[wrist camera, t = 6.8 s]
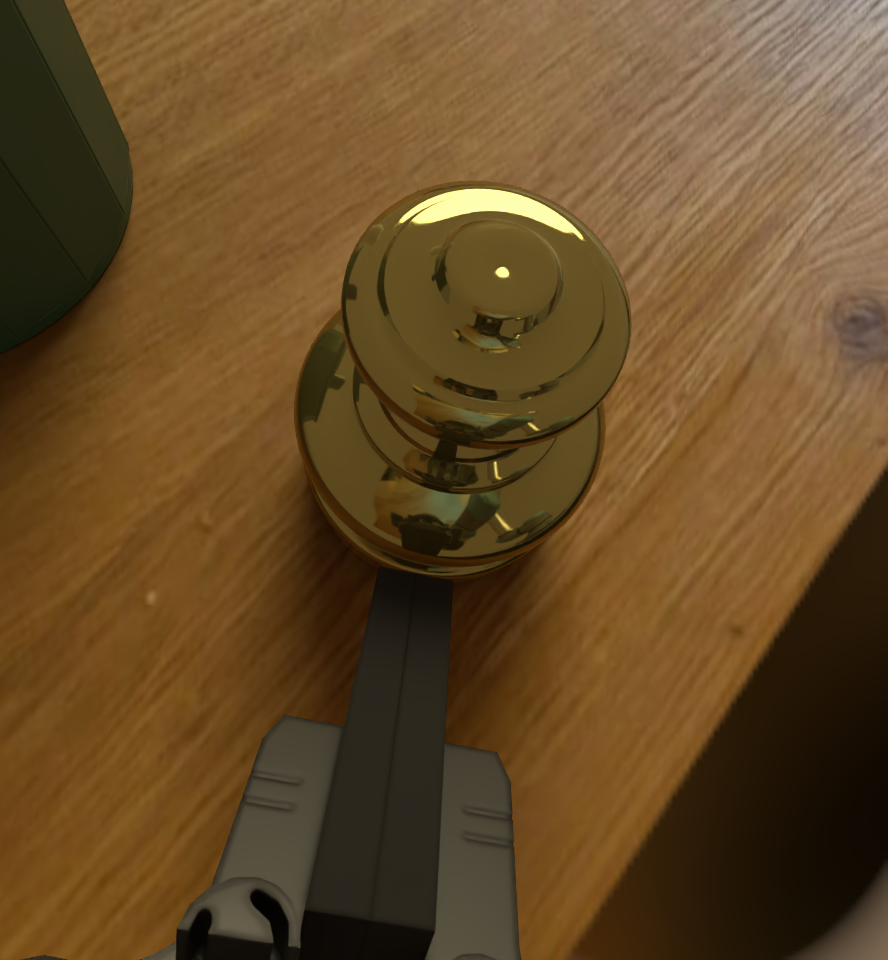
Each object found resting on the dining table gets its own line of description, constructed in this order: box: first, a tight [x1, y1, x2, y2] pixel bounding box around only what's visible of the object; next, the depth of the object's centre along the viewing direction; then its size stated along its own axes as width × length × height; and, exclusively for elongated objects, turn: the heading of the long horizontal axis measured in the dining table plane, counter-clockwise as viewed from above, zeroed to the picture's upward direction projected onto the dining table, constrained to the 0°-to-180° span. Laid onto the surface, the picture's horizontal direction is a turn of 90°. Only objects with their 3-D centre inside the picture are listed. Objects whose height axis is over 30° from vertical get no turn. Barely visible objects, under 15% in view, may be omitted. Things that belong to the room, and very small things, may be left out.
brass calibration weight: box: [294, 181, 631, 583], centre depth 15 cm, size 7×7×10 cm
